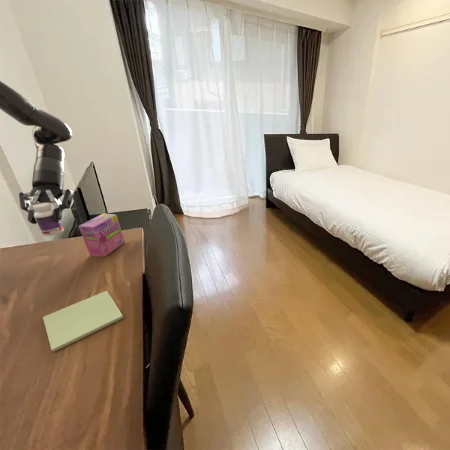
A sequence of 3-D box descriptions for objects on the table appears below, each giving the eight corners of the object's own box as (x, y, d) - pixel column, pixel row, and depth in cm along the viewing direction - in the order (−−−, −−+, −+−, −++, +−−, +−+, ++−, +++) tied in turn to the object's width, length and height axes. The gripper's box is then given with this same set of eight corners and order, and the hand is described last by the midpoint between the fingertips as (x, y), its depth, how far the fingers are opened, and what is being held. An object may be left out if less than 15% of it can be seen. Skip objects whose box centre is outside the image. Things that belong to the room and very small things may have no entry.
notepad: (52, 352, 60) (51, 350, 59) (43, 319, 68) (42, 316, 68) (123, 318, 69) (122, 315, 68) (107, 292, 77) (106, 290, 77)
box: (104, 257, 94) (92, 226, 88) (89, 256, 94) (77, 225, 89) (126, 242, 103) (116, 214, 98) (112, 241, 104) (102, 213, 98)
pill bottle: (67, 231, 89) (55, 203, 85) (47, 238, 85) (34, 209, 81) (59, 227, 92) (48, 200, 87) (39, 233, 87) (26, 205, 83)
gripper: (13, 169, 84) (6, 220, 79) (68, 167, 88) (65, 215, 83) (30, 181, 91) (25, 228, 86) (80, 178, 95) (78, 223, 90)
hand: (44, 221), depth 85 cm, fingers closed on pill bottle, 5 cm apart
